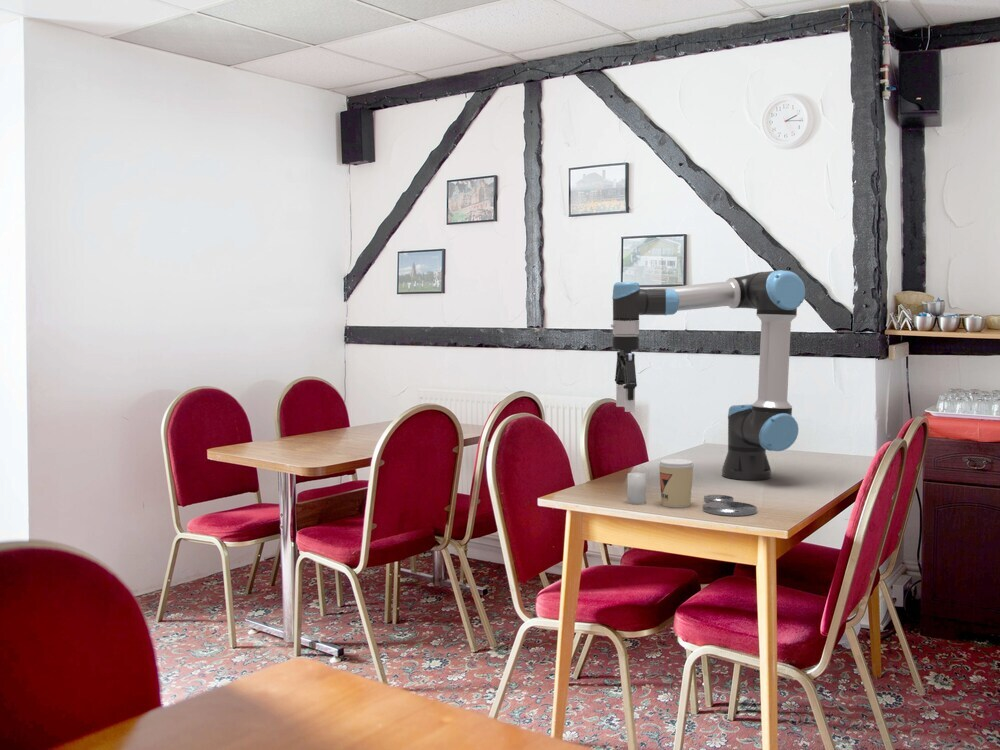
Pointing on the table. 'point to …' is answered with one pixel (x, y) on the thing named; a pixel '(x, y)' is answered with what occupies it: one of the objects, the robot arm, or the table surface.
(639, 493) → the grey cylinder
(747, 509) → the disc
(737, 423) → the robot arm
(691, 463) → the coffee cup
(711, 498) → the flange small
